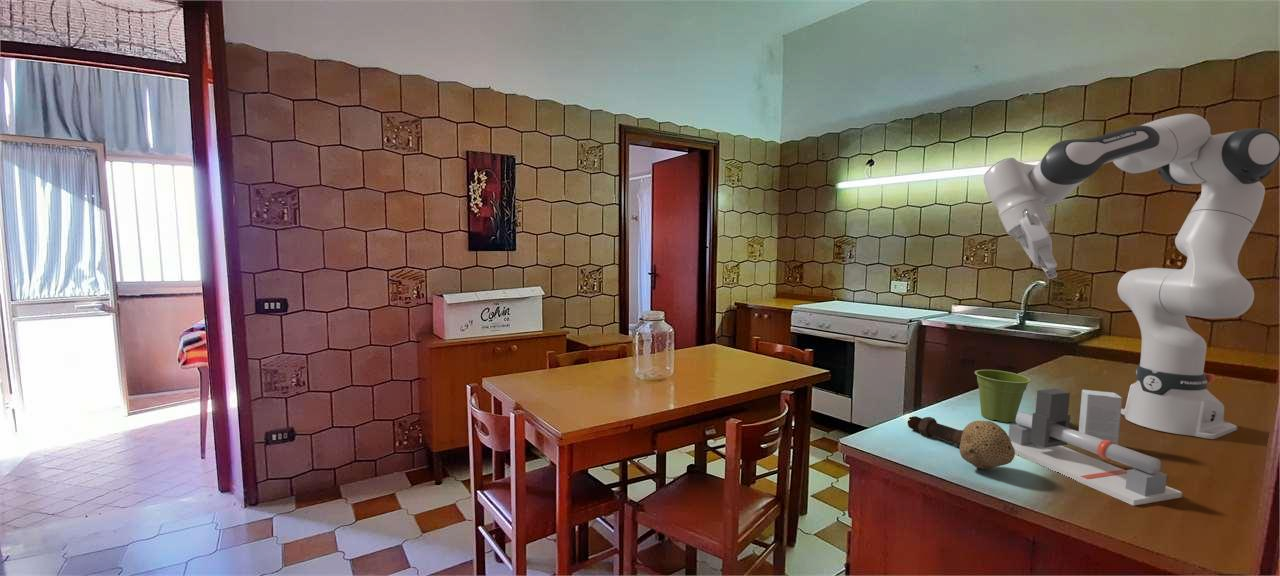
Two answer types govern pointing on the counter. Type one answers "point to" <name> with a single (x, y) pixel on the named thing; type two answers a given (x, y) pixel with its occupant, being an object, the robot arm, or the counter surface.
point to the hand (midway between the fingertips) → (1053, 272)
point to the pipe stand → (1095, 463)
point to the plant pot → (1000, 394)
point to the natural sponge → (986, 445)
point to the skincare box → (1100, 414)
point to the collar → (1049, 416)
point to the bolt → (935, 429)
